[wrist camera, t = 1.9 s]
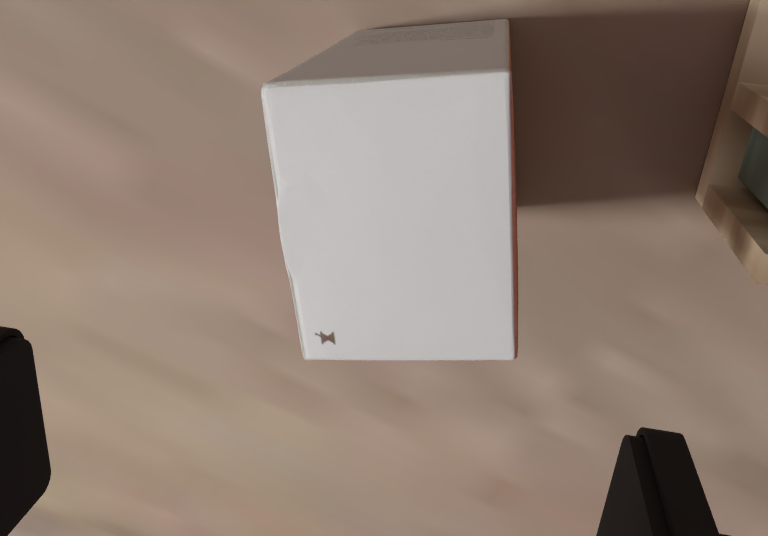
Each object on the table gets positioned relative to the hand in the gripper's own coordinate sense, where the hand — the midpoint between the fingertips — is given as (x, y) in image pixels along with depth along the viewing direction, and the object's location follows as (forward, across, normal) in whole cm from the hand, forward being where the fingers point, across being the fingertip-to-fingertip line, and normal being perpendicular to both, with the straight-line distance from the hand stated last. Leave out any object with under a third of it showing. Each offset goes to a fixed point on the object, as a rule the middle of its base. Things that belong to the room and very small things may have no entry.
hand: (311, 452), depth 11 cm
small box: (+22, 0, 0) cm, 22 cm away
